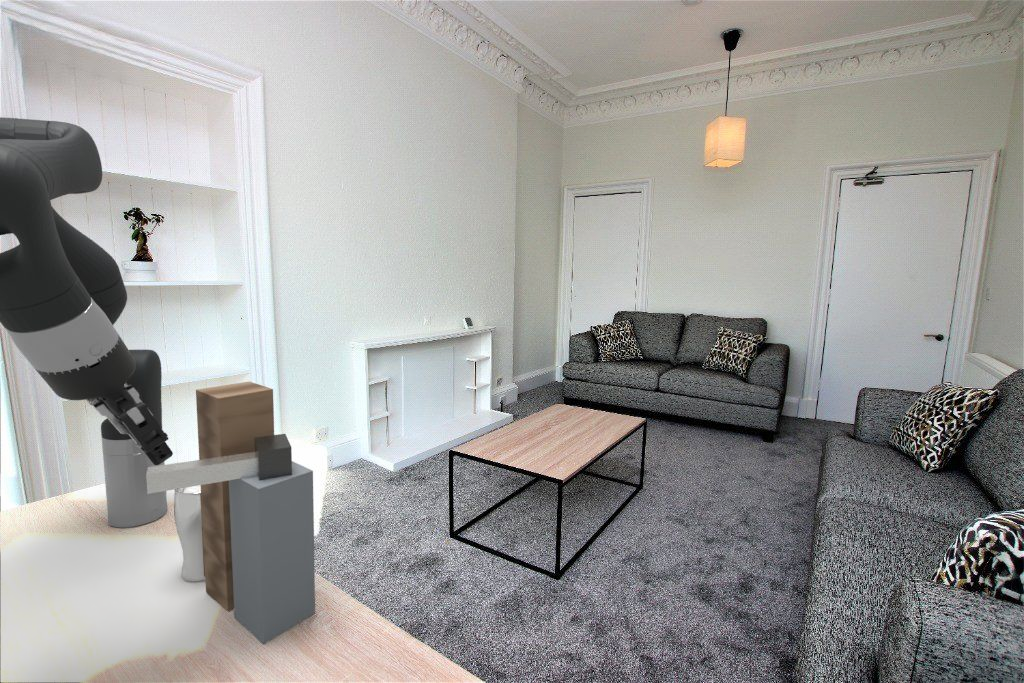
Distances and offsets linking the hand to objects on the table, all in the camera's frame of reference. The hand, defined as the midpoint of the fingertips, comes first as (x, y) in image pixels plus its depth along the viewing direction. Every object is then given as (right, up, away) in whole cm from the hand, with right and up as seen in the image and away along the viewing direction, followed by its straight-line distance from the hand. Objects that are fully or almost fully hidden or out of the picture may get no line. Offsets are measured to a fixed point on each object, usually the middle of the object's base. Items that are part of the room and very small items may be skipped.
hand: (146, 443), depth 61 cm
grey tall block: (+12, -27, +9) cm, 31 cm away
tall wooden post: (+4, -26, +14) cm, 30 cm away
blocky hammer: (+8, -5, +3) cm, 10 cm away
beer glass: (-4, -25, +18) cm, 31 cm away
